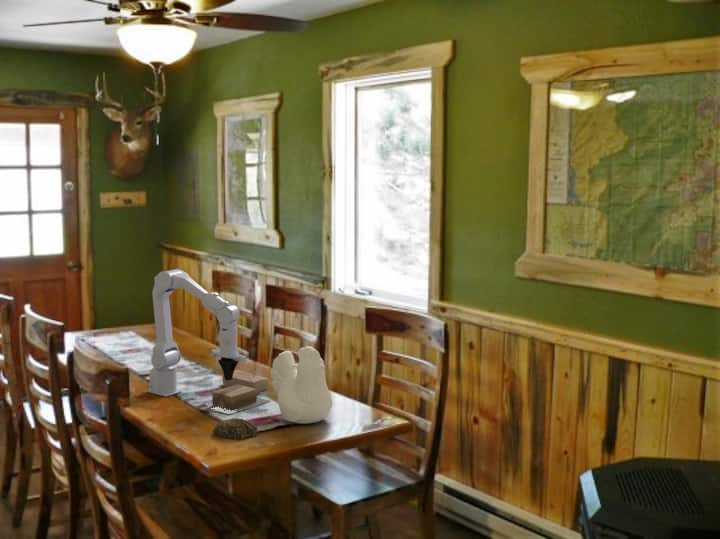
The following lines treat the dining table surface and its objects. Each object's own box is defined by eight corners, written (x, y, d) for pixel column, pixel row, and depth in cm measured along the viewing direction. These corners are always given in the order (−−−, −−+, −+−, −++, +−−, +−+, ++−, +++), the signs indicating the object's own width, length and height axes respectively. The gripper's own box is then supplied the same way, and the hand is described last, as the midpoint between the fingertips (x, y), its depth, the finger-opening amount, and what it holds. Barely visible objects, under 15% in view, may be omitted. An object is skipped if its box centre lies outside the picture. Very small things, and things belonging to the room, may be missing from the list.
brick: (269, 389, 286) (270, 376, 286) (254, 394, 280) (254, 381, 279) (237, 381, 296) (237, 369, 295) (221, 385, 289) (221, 373, 289)
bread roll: (207, 435, 236) (207, 419, 235) (235, 424, 246) (235, 409, 246) (238, 444, 229) (238, 427, 228) (266, 433, 239) (266, 417, 239)
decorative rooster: (340, 424, 248) (342, 348, 244) (296, 432, 239) (298, 353, 236) (302, 403, 268) (304, 332, 265) (261, 410, 260) (261, 337, 257)
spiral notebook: (205, 408, 260) (205, 408, 260) (247, 395, 277) (247, 394, 277) (229, 415, 254) (229, 414, 254) (270, 401, 270) (270, 400, 270)
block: (212, 391, 264) (231, 396, 258) (237, 384, 273) (256, 389, 268) (212, 404, 264) (231, 410, 259) (237, 396, 274) (256, 401, 269)
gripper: (252, 341, 264) (252, 380, 266) (221, 335, 273) (221, 373, 274) (237, 345, 259) (237, 385, 260) (207, 339, 267) (207, 377, 269)
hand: (228, 379), depth 267 cm, fingers closed
